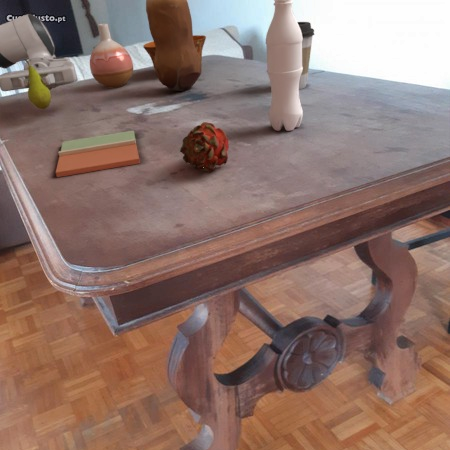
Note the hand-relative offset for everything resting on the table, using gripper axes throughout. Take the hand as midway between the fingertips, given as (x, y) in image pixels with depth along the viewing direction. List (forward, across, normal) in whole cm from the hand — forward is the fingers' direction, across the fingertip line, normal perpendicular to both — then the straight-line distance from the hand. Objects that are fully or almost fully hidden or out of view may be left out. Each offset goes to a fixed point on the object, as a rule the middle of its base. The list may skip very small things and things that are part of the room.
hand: (35, 83), depth 121 cm
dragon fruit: (+54, +34, +9) cm, 65 cm away
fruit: (-1, 0, +7) cm, 7 cm away
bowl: (-40, +41, +9) cm, 58 cm away
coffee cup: (+5, +67, +9) cm, 68 cm away
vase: (-33, +19, +10) cm, 39 cm away
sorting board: (+36, +14, +9) cm, 40 cm away
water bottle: (+39, +54, +9) cm, 67 cm away
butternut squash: (-12, +38, +9) cm, 41 cm away
